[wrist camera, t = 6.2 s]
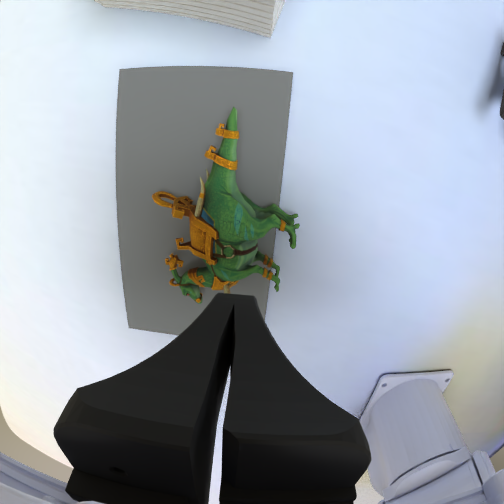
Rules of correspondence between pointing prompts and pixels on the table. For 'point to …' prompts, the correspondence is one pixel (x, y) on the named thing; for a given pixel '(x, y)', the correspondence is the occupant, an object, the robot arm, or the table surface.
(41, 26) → the table surface
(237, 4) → the stack of papers
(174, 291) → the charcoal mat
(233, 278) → the figurine
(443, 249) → the table surface
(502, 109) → the clip-on lamp
